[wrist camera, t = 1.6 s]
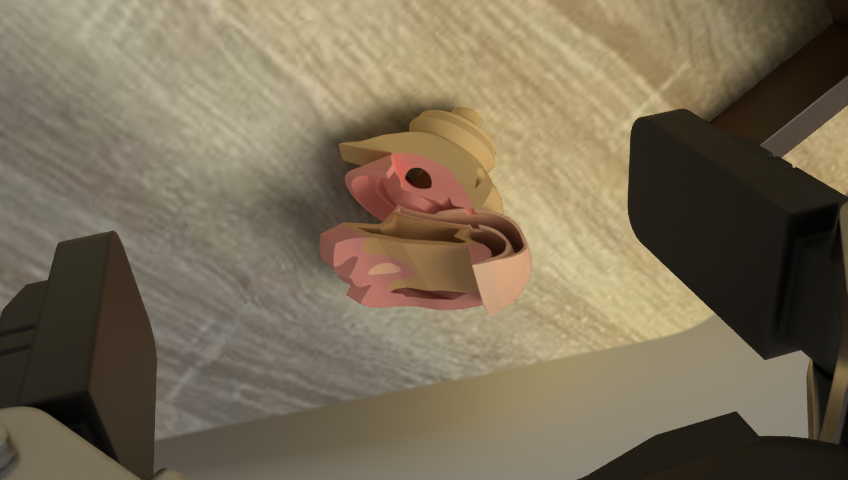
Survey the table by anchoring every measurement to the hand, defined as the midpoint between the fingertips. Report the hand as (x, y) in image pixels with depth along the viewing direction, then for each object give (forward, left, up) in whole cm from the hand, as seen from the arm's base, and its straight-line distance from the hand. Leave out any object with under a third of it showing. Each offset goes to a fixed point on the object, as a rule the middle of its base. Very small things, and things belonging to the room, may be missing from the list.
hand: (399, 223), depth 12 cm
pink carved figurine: (-12, +2, -21) cm, 24 cm away
